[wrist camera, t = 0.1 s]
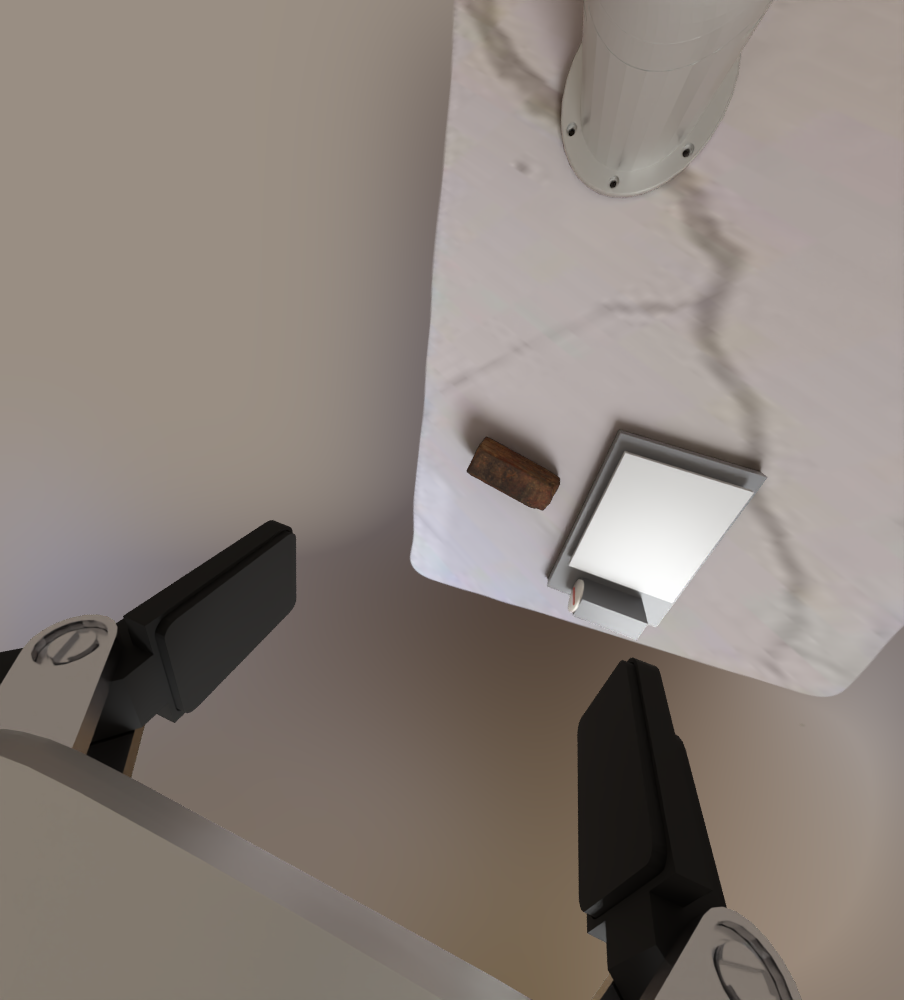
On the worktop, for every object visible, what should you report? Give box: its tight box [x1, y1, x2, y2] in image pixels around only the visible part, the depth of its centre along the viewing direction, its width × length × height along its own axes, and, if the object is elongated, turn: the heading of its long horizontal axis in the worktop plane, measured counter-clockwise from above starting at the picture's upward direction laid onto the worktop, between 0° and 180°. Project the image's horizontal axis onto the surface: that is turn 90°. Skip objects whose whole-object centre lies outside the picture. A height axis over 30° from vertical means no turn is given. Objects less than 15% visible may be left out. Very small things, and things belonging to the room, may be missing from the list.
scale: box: [547, 430, 767, 640], centre depth 43 cm, size 23×15×6 cm, turn 167°
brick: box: [467, 437, 560, 511], centre depth 44 cm, size 11×4×5 cm, turn 65°
